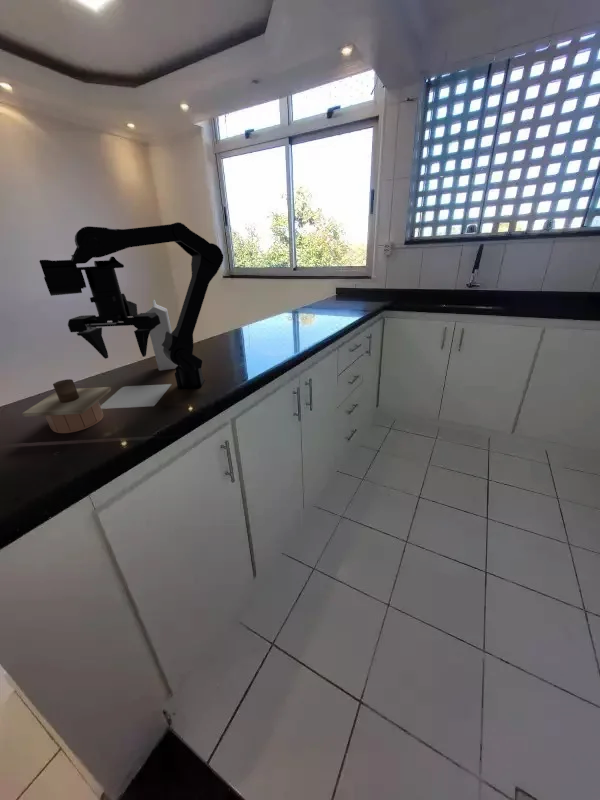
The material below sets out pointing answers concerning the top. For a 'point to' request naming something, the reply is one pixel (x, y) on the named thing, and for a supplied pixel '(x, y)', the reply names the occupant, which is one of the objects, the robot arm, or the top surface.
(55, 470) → the top surface
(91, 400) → the cover
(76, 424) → the bowl
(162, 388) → the mat
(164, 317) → the milk
